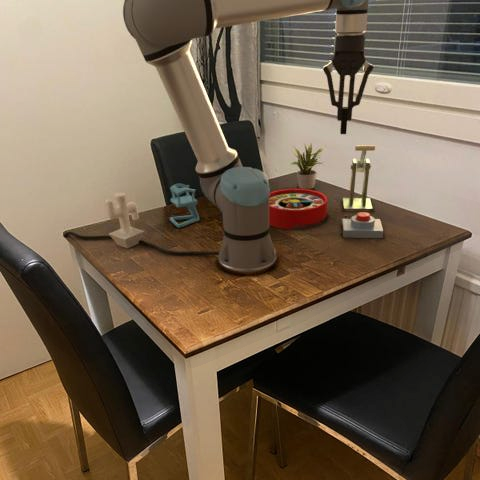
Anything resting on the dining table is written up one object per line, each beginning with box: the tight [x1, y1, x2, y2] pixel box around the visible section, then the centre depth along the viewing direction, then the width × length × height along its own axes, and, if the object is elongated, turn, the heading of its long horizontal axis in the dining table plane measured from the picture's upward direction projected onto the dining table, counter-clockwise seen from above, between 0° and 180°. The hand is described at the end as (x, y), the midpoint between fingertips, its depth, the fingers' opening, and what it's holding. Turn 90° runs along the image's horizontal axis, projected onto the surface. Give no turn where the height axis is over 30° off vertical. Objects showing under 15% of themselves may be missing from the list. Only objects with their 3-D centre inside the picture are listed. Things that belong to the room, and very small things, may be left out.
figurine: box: [105, 191, 145, 249], centre depth 139 cm, size 7×9×15 cm
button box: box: [341, 214, 384, 239], centre depth 143 cm, size 11×9×4 cm
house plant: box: [291, 143, 327, 190], centre depth 172 cm, size 14×14×16 cm
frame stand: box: [342, 158, 373, 210], centre depth 157 cm, size 10×9×15 cm
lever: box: [354, 144, 376, 173], centre depth 149 cm, size 13×6×2 cm
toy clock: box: [269, 188, 328, 230], centre depth 154 cm, size 20×6×20 cm
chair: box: [169, 182, 200, 229], centre depth 153 cm, size 8×8×12 cm
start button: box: [356, 211, 371, 221], centre depth 141 cm, size 4×4×2 cm
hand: (343, 133), depth 136 cm, fingers closed
